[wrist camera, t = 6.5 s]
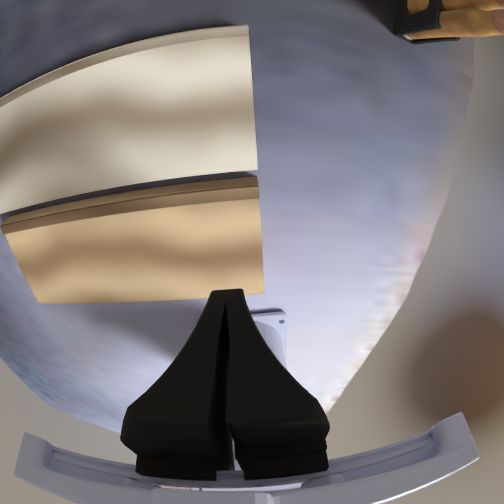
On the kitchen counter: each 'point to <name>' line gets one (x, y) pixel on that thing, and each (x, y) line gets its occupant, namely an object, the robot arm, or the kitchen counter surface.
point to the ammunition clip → (447, 20)
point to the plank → (130, 118)
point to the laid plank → (143, 244)
